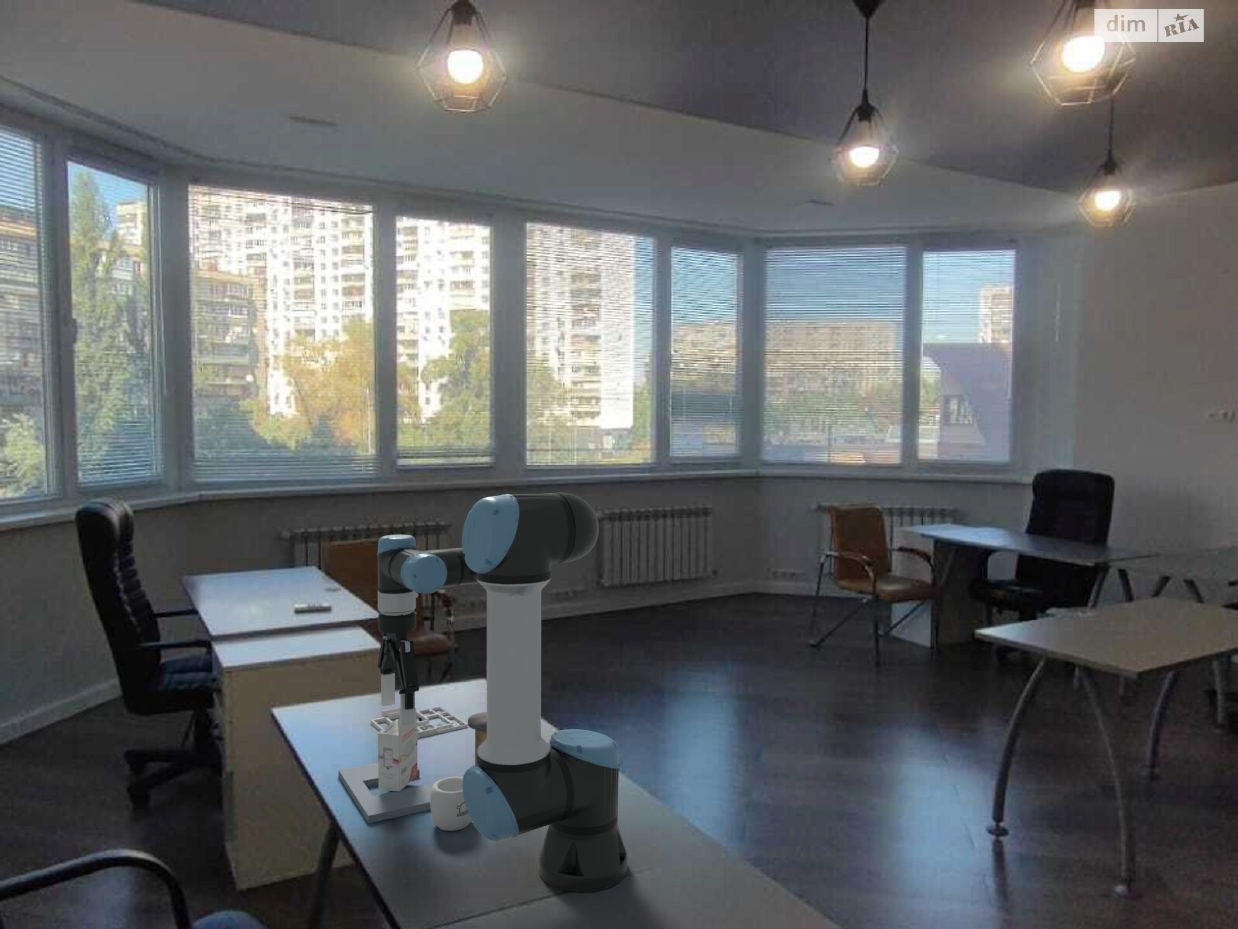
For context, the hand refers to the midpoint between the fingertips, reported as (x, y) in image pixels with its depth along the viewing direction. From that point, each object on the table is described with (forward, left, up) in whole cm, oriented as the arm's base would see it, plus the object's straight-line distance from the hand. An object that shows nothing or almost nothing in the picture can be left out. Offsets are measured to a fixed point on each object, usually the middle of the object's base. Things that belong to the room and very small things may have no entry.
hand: (397, 714), depth 176 cm
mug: (-20, -6, -16) cm, 26 cm away
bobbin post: (-8, -16, -16) cm, 24 cm away
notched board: (0, +2, -16) cm, 16 cm away
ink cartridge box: (0, 0, -15) cm, 15 cm away
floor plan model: (+35, -12, -17) cm, 41 cm away
